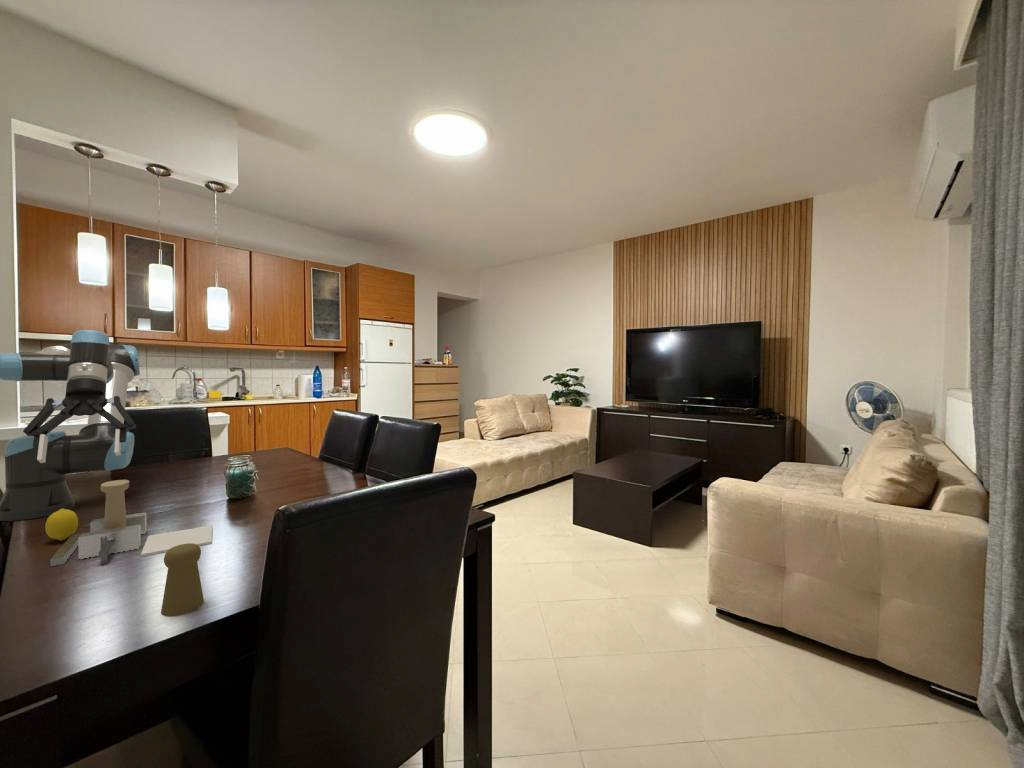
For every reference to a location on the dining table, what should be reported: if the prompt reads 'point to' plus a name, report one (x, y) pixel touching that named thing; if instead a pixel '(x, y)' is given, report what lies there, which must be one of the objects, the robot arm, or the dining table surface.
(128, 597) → the dining table surface
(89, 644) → the dining table surface
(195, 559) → the cork
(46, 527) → the lemon
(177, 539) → the mat
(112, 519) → the handle
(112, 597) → the dining table surface
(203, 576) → the dining table surface
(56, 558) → the vise
